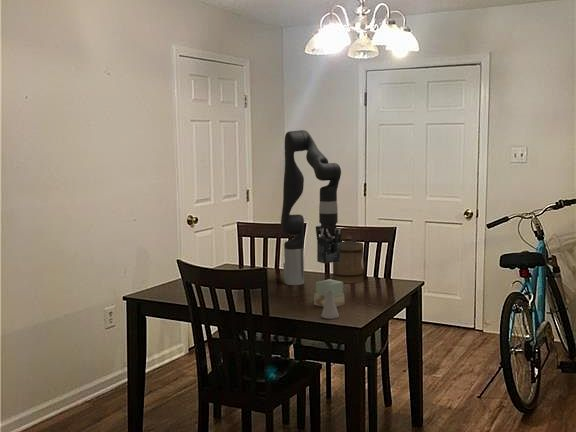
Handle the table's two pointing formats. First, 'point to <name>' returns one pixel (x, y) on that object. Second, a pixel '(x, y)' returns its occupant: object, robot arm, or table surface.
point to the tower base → (321, 300)
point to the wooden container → (349, 262)
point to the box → (326, 250)
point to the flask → (330, 307)
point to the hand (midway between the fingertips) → (328, 252)
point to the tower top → (329, 287)
